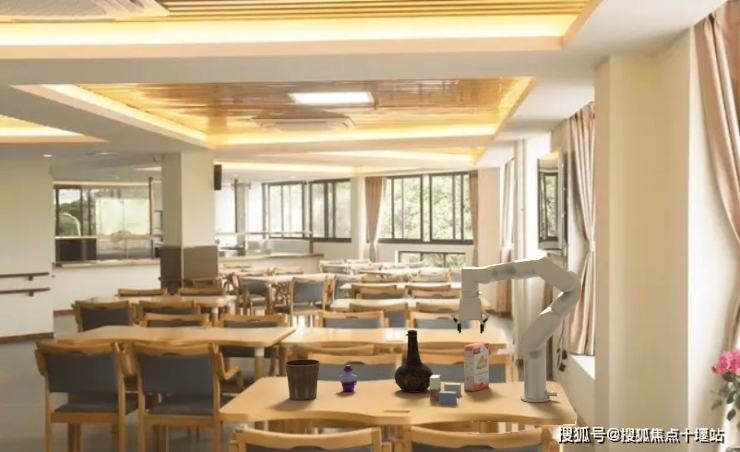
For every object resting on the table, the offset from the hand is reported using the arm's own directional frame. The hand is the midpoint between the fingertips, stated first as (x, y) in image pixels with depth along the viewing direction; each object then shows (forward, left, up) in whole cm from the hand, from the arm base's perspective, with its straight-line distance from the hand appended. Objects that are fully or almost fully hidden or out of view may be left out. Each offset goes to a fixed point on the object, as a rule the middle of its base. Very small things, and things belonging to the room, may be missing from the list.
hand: (470, 333), depth 372 cm
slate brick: (+9, -2, -28) cm, 30 cm away
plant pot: (+74, +16, -28) cm, 81 cm away
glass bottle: (+28, -8, -28) cm, 41 cm away
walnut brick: (+15, +8, -28) cm, 33 cm away
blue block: (+8, +16, -28) cm, 34 cm away
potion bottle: (+58, -2, -28) cm, 65 cm away
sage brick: (+15, +8, -23) cm, 29 cm away
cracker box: (0, -17, -28) cm, 33 cm away
